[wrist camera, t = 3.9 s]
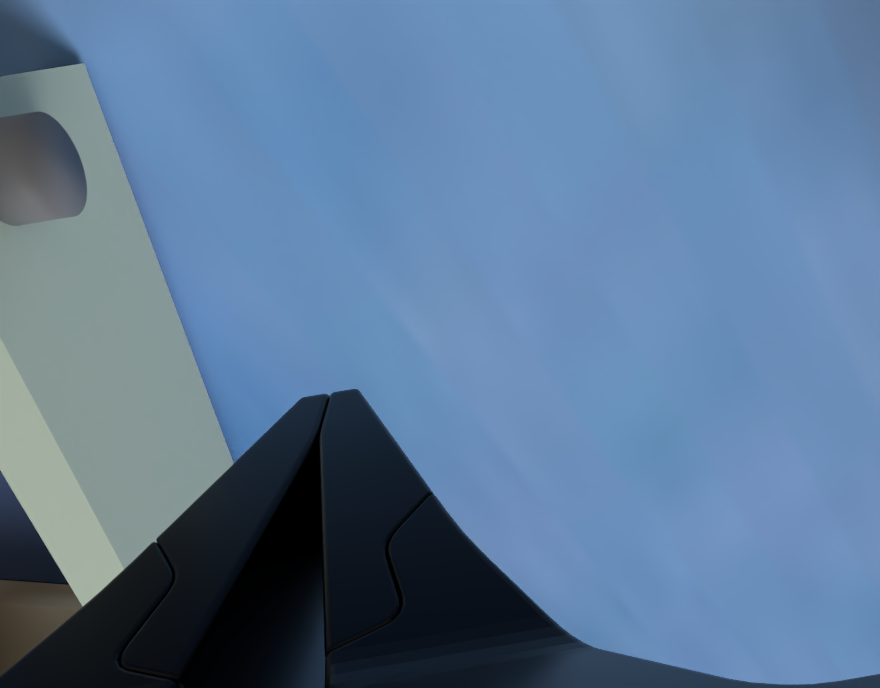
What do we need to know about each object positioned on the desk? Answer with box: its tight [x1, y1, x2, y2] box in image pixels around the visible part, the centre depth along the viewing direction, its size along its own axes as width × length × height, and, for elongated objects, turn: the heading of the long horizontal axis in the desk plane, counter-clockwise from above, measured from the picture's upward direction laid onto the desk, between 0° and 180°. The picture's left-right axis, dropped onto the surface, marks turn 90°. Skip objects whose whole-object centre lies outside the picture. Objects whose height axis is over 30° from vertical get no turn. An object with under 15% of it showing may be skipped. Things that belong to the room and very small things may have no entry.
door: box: [0, 63, 234, 606], centre depth 16 cm, size 18×3×7 cm, turn 8°
